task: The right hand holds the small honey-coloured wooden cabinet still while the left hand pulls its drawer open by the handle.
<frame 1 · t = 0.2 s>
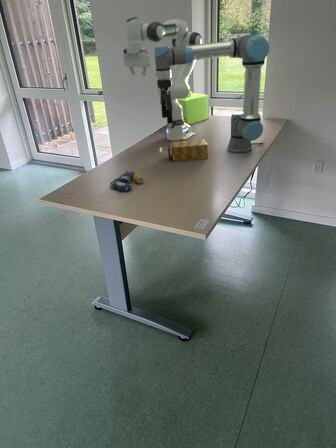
left hand: (138, 74, 205), 48 cm above the table, tool pointing down, fingers open, 8 cm apart
right hand: (167, 120, 184), 28 cm above the table, tool pointing down, fingers open, 13 cm apart
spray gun: (128, 184, 183), on the table
drawer: (180, 150, 210), point 4 cm above the table, slide at 1.0 cm
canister: (189, 120, 289), on the table
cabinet: (189, 156, 212), on the table
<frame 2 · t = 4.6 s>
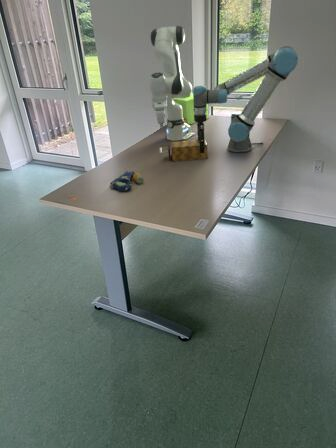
left hand: (161, 127, 202), 20 cm above the table, tool pointing down, fingers closed
right hand: (201, 149, 210), 4 cm above the table, tool pointing down, fingers closed on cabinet, 11 cm apart
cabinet: (189, 156, 212), on the table, touching right hand
everything else where it was.
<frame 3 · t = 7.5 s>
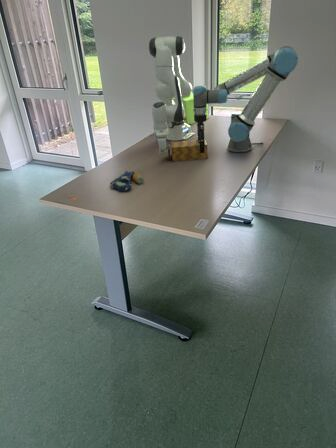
left hand: (163, 152, 210), 4 cm above the table, tool pointing down, fingers closed, pressing on drawer
right hand: (201, 149, 210), 4 cm above the table, tool pointing down, fingers closed on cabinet, 11 cm apart
drawer: (180, 150, 210), point 4 cm above the table, slide at 1.1 cm, touching left hand
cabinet: (189, 156, 212), on the table, touching right hand
everything else where it was.
when the right hand's fingers open (4 cm above the table, at t = 10.1 s): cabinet stays where it is, on the table.
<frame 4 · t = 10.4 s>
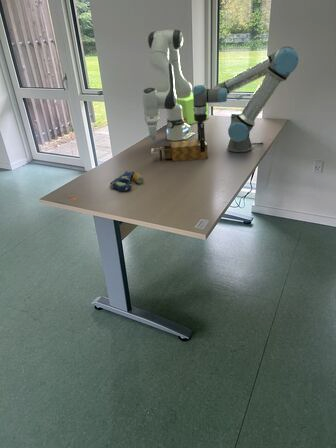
left hand: (154, 140, 206), 12 cm above the table, tool pointing down, fingers closed
right hand: (201, 148, 209), 5 cm above the table, tool pointing down, fingers open, 13 cm apart
drawer: (171, 151, 210), point 4 cm above the table, slide at 6.3 cm
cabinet: (189, 156, 212), on the table
everything else where it was.
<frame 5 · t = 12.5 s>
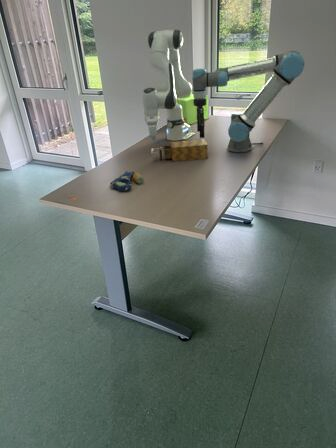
left hand: (154, 140, 206), 12 cm above the table, tool pointing down, fingers closed
right hand: (200, 134, 205), 14 cm above the table, tool pointing down, fingers open, 13 cm apart
nothing on the table moved.
at the end: drawer slide at 6.3 cm; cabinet tilted 0°; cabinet never tilted more than 1° during the clip; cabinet moved 0.1 cm from its start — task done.
